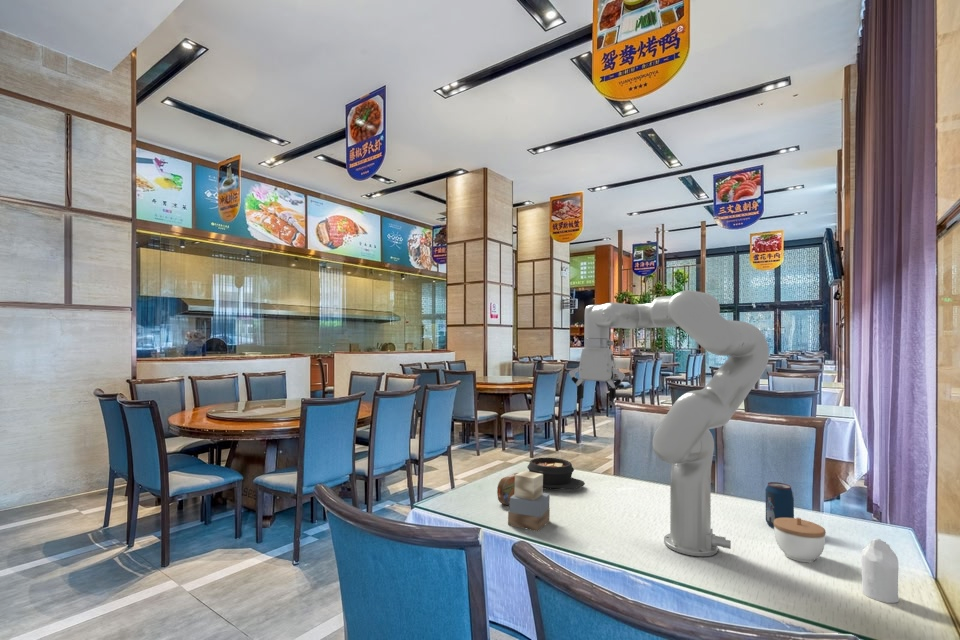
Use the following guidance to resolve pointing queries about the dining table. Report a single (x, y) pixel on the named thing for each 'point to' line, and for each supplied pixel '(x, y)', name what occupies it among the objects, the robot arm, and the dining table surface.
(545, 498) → the slate block
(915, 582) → the dining table surface
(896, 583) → the white plastic bottle
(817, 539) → the lidded jar
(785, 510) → the soda can
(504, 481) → the tin
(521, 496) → the maple cube
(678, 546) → the robot arm
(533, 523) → the walnut block
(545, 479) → the casserole
